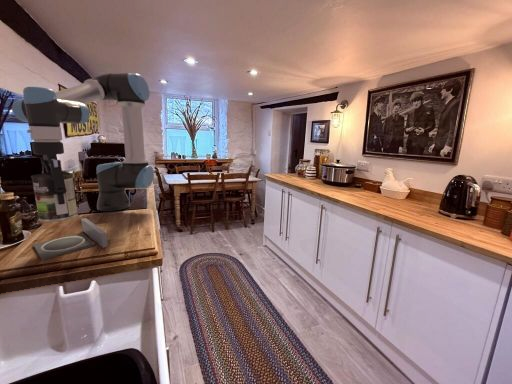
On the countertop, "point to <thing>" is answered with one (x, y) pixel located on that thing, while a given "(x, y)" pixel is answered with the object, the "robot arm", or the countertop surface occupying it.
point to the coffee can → (46, 199)
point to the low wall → (94, 232)
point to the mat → (62, 245)
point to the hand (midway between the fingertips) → (58, 210)
